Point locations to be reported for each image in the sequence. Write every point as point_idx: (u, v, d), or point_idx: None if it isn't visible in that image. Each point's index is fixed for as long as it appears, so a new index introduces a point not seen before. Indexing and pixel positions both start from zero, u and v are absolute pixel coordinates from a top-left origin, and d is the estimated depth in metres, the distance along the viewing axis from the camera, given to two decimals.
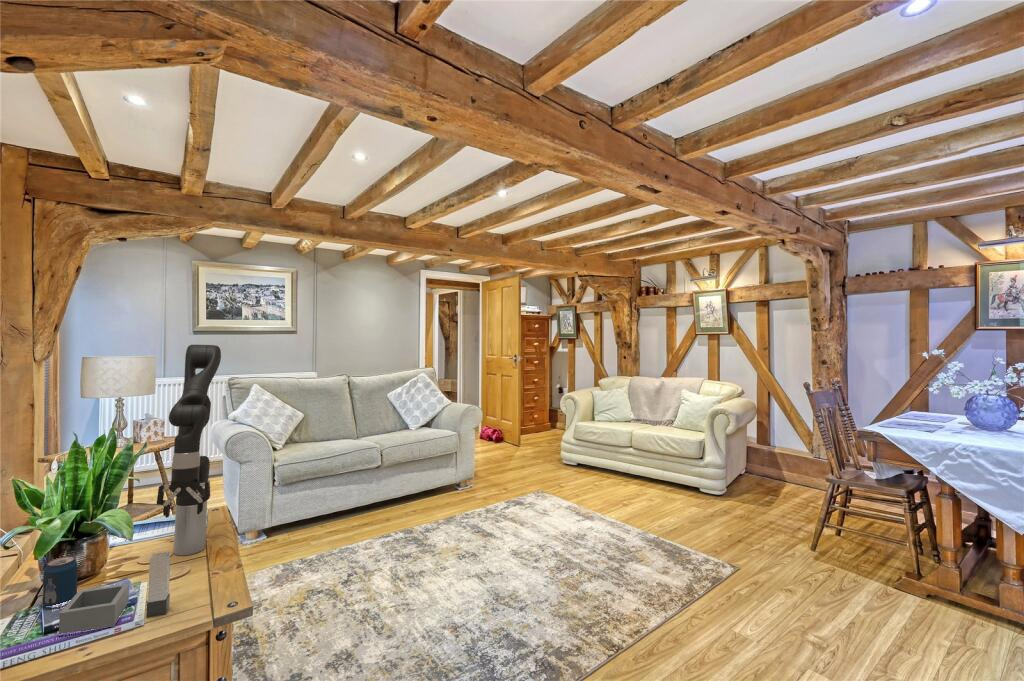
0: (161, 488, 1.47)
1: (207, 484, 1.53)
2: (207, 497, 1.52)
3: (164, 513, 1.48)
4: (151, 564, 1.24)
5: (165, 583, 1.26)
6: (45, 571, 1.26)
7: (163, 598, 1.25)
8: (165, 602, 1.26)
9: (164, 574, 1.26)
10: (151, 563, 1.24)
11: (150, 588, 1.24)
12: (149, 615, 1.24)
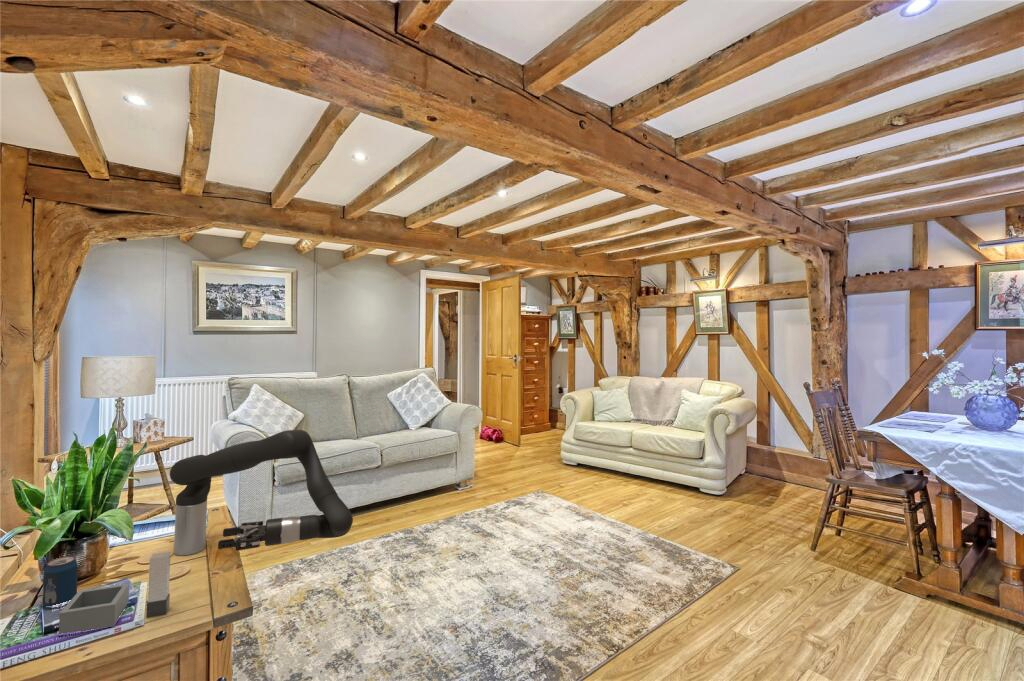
0: None
1: None
2: None
3: None
4: (151, 564, 1.24)
5: (165, 583, 1.26)
6: (45, 571, 1.26)
7: (163, 598, 1.25)
8: (165, 602, 1.26)
9: (164, 574, 1.26)
10: (151, 563, 1.24)
11: (150, 588, 1.24)
12: (149, 615, 1.24)
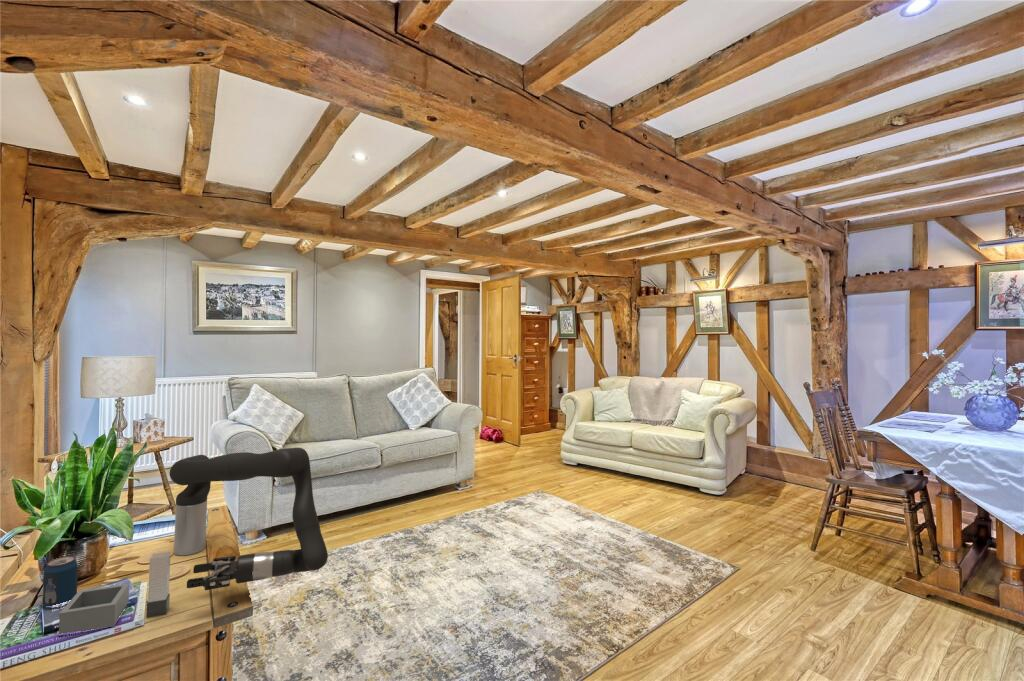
0: None
1: None
2: None
3: None
4: (151, 564, 1.24)
5: (165, 583, 1.26)
6: (45, 571, 1.26)
7: (163, 598, 1.25)
8: (165, 602, 1.26)
9: (164, 574, 1.26)
10: (151, 562, 1.24)
11: (150, 588, 1.24)
12: (149, 615, 1.24)
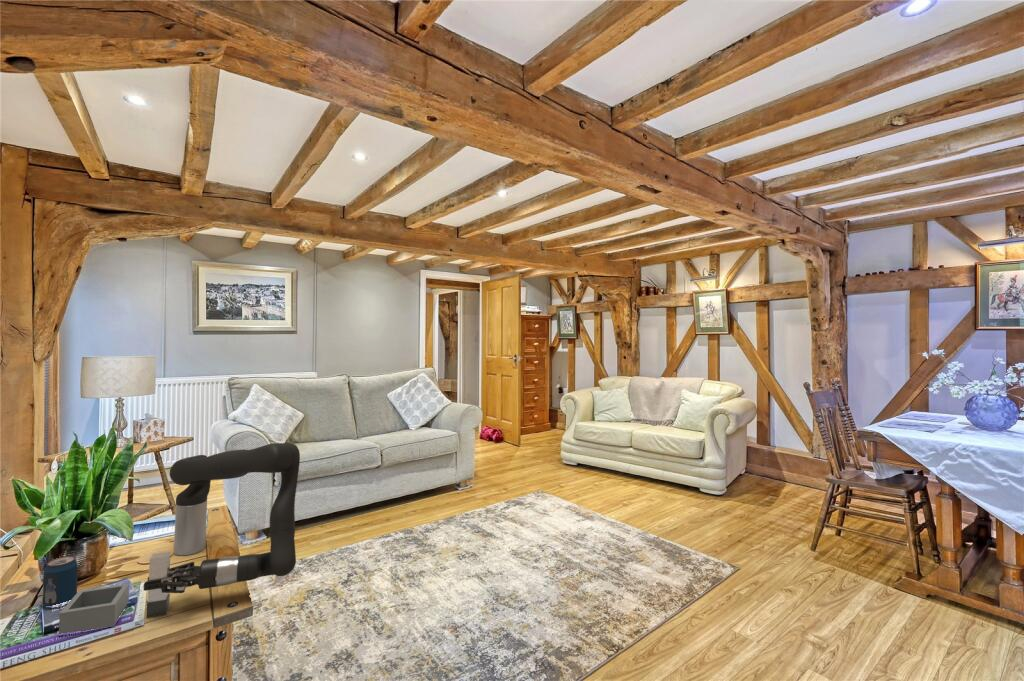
0: None
1: None
2: None
3: None
4: (151, 564, 1.24)
5: None
6: (45, 571, 1.26)
7: (163, 598, 1.25)
8: (165, 602, 1.26)
9: (164, 574, 1.26)
10: (151, 562, 1.24)
11: None
12: (149, 615, 1.24)
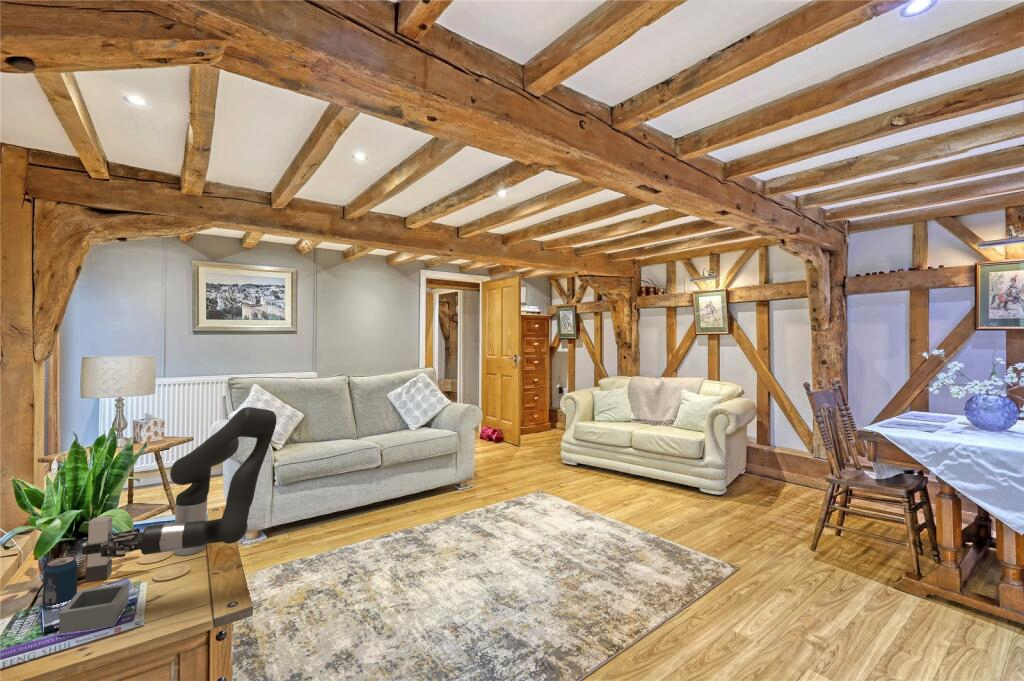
0: None
1: None
2: None
3: None
4: (90, 528, 1.20)
5: None
6: (45, 571, 1.26)
7: (104, 563, 1.21)
8: (106, 567, 1.22)
9: (105, 538, 1.22)
10: (91, 526, 1.20)
11: None
12: (88, 580, 1.20)
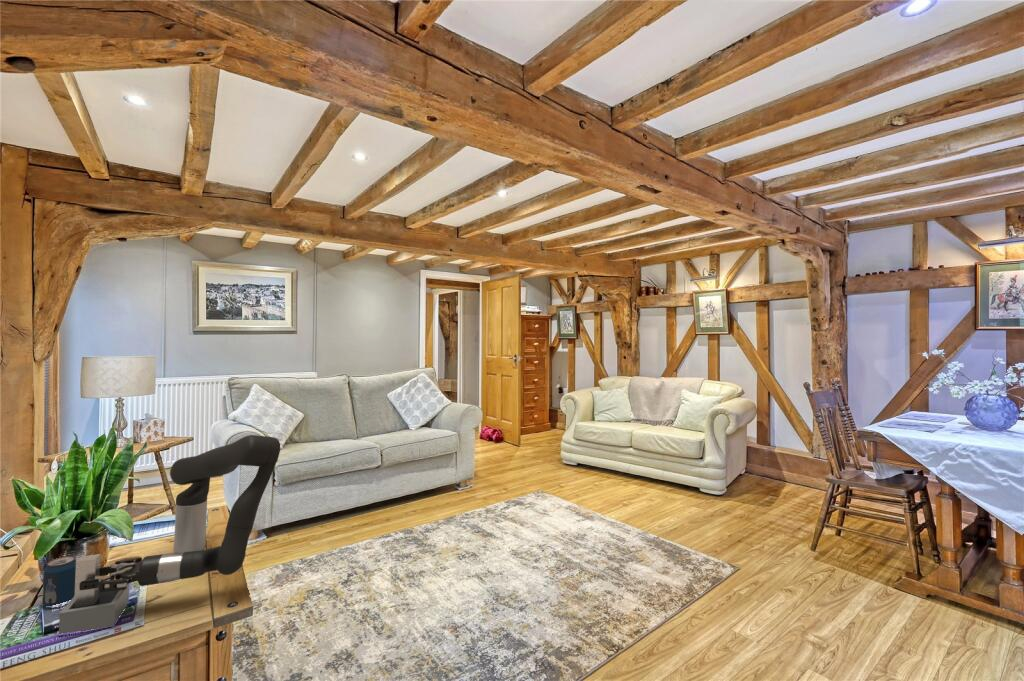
0: None
1: None
2: None
3: None
4: (77, 567, 1.19)
5: None
6: (45, 571, 1.26)
7: (91, 602, 1.21)
8: None
9: (92, 578, 1.21)
10: (78, 565, 1.19)
11: (76, 592, 1.19)
12: None
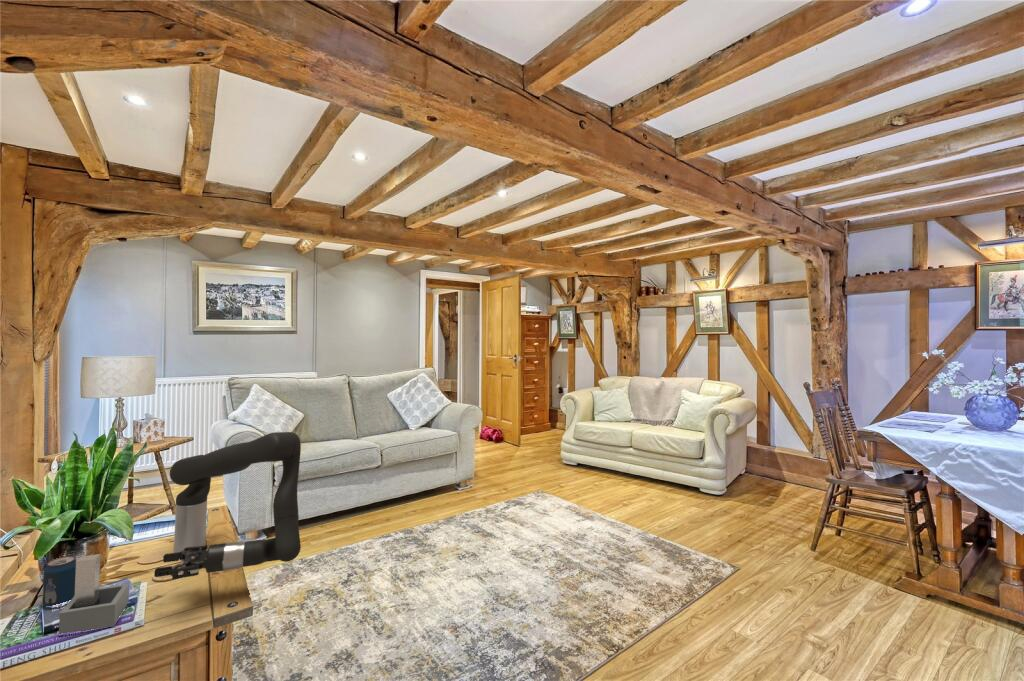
0: None
1: None
2: None
3: None
4: (77, 567, 1.19)
5: (93, 587, 1.21)
6: (45, 571, 1.26)
7: (91, 602, 1.21)
8: None
9: (92, 578, 1.21)
10: (78, 565, 1.19)
11: (76, 592, 1.19)
12: None
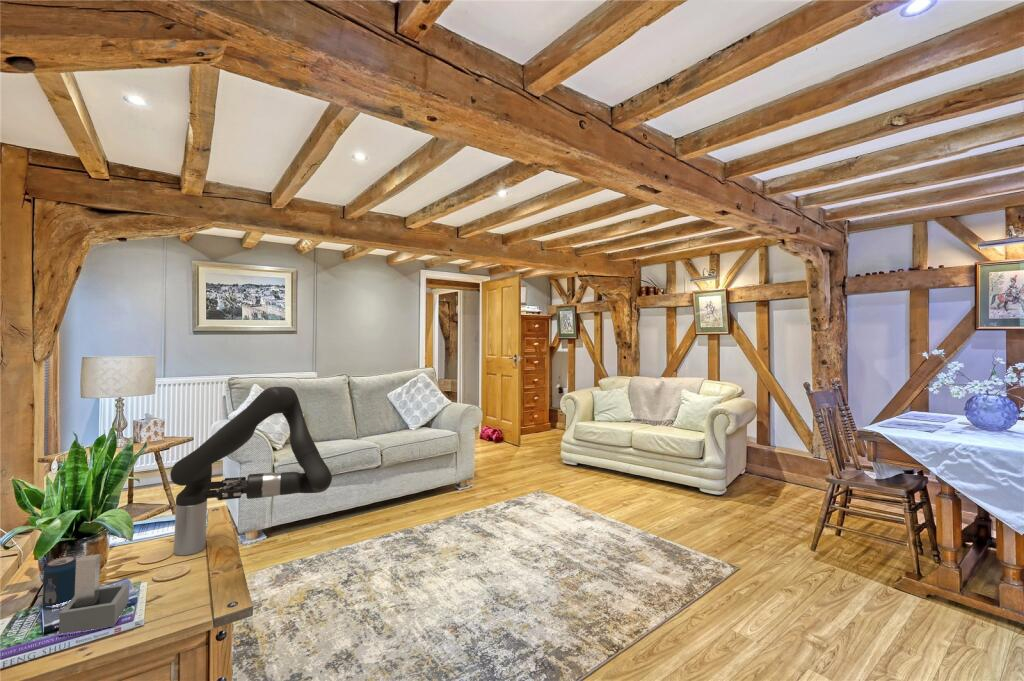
0: None
1: None
2: None
3: None
4: (77, 567, 1.19)
5: (93, 587, 1.21)
6: (45, 571, 1.26)
7: (91, 602, 1.21)
8: None
9: (92, 578, 1.21)
10: (78, 565, 1.19)
11: (76, 592, 1.19)
12: None
